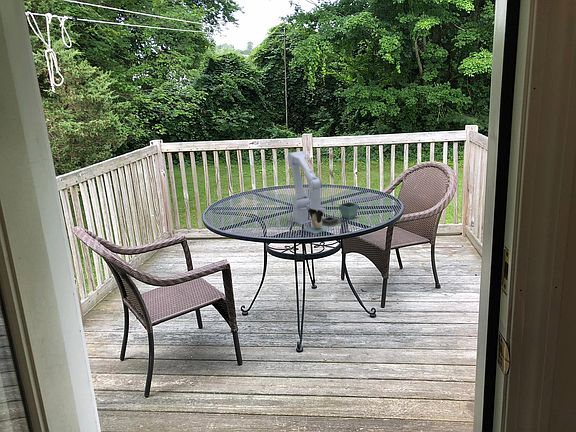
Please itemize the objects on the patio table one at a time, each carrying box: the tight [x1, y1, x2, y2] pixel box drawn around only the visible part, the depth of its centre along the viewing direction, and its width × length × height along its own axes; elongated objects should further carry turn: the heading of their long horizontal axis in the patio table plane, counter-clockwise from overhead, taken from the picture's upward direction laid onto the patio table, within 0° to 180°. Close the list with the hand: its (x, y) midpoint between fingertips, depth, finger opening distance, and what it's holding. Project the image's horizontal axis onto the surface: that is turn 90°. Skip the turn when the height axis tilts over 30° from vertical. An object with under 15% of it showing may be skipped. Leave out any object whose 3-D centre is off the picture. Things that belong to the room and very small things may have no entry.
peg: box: [311, 213, 323, 228], centre depth 271 cm, size 4×4×8 cm
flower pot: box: [338, 201, 359, 220], centre depth 289 cm, size 9×9×9 cm
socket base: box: [311, 216, 348, 228], centre depth 284 cm, size 16×16×2 cm
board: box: [302, 225, 332, 235], centre depth 272 cm, size 12×12×1 cm
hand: (316, 221), depth 271 cm, fingers closed on peg, 4 cm apart
